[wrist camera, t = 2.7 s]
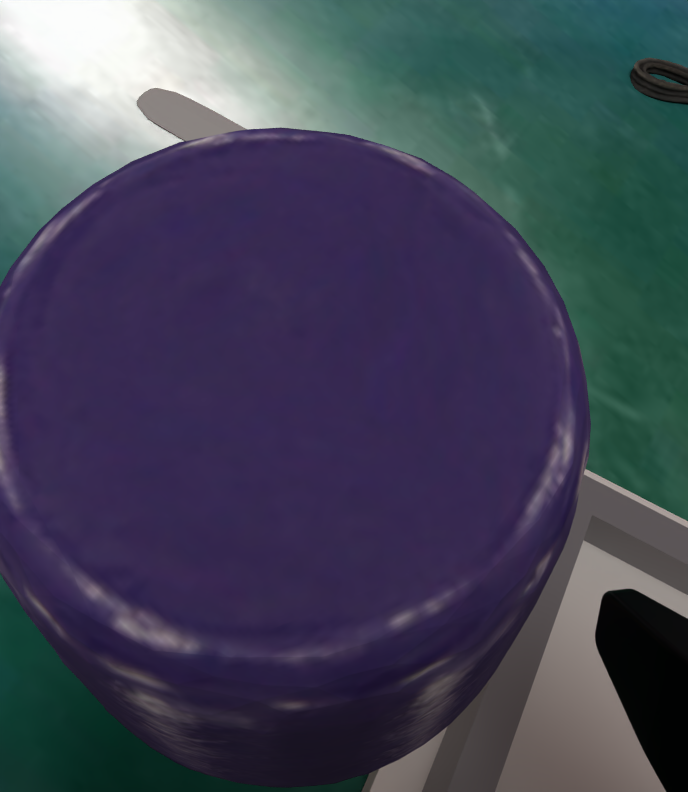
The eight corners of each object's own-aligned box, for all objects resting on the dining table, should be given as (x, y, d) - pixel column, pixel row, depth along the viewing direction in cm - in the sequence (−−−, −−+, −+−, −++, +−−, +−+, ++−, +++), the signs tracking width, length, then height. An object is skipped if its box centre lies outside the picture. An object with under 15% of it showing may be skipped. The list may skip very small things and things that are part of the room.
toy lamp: (268, 734, 17) (93, 1605, 1) (178, 591, 18) (-447, 208, 3) (402, 621, 18) (1039, 434, 3) (310, 496, 19) (409, -104, 4)
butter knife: (171, 65, 26) (125, 102, 25) (763, 382, 23) (746, 444, 21) (172, 77, 26) (127, 114, 25) (751, 388, 23) (734, 449, 22)
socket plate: (854, 623, 19) (950, 617, 17) (785, 1091, 15) (901, 1192, 12) (510, 446, 21) (545, 413, 18) (347, 823, 16) (360, 858, 13)
